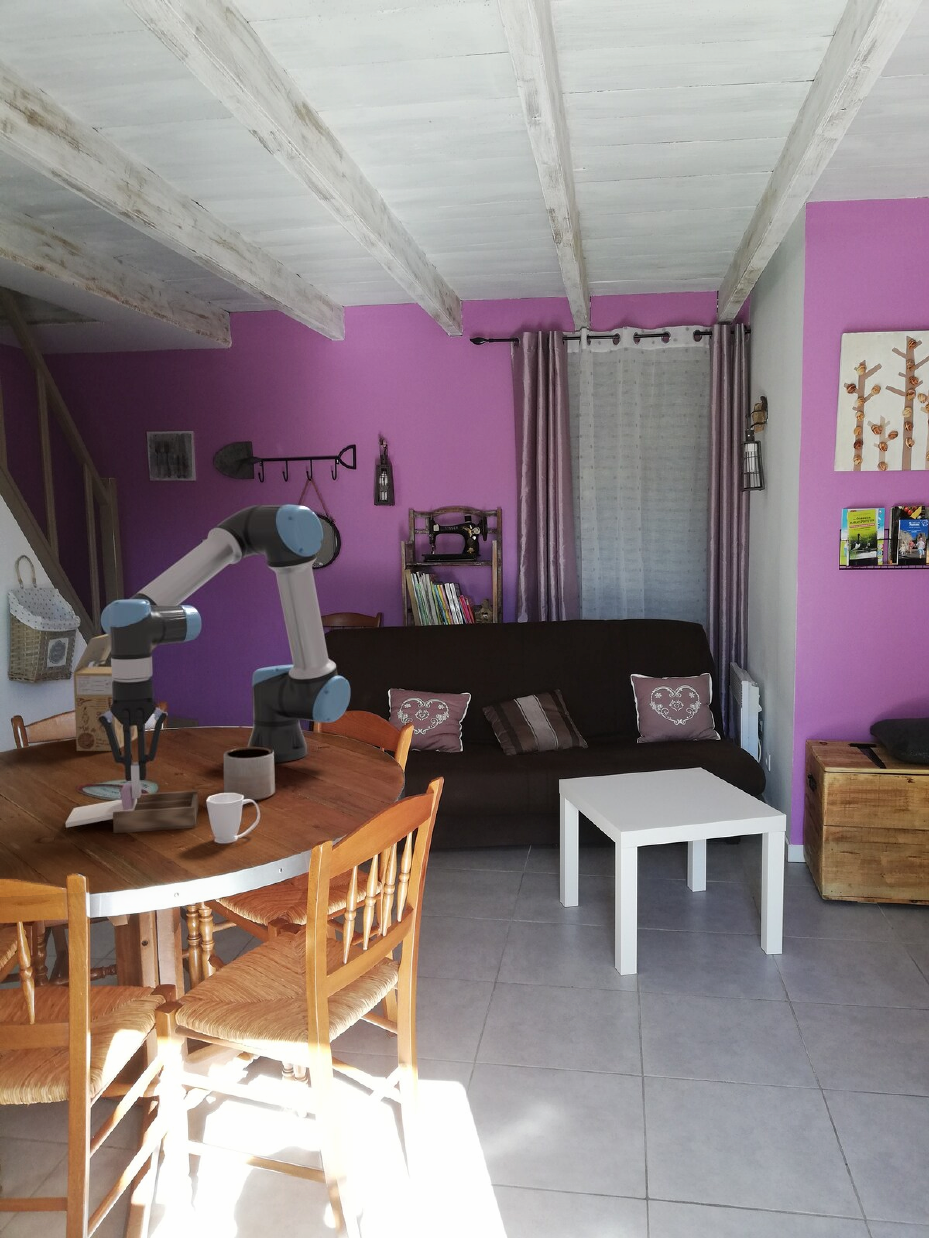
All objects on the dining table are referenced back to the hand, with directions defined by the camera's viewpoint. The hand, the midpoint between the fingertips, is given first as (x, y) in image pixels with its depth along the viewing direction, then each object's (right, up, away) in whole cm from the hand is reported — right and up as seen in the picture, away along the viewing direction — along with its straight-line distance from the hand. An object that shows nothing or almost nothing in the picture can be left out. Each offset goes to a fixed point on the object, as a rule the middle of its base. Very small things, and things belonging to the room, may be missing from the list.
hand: (136, 796), depth 182 cm
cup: (+22, -7, -9) cm, 24 cm away
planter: (+18, -4, +19) cm, 27 cm away
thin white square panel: (-6, -3, -1) cm, 7 cm away
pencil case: (+4, -5, +2) cm, 7 cm away
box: (-29, +1, +69) cm, 74 cm away
